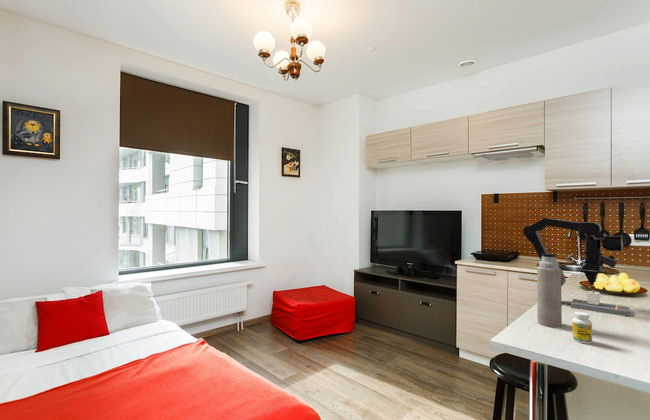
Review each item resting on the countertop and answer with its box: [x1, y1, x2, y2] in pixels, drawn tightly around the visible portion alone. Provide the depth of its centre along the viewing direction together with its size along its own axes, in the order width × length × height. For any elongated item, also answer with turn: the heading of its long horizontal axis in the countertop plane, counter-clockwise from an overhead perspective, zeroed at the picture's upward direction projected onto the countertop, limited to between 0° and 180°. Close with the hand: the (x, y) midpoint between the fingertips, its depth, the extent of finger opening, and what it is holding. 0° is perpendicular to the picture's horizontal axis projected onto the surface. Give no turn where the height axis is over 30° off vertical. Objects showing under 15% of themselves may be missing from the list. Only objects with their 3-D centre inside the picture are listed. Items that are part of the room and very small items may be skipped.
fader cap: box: [586, 290, 601, 305], centre depth 153 cm, size 4×4×5 cm
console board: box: [569, 298, 630, 317], centre depth 152 cm, size 20×10×2 cm, turn 46°
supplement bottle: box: [572, 311, 593, 345], centre depth 116 cm, size 5×5×10 cm
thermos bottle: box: [536, 253, 563, 329], centre depth 133 cm, size 8×8×28 cm
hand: (593, 283), depth 154 cm, fingers open, 9 cm apart
